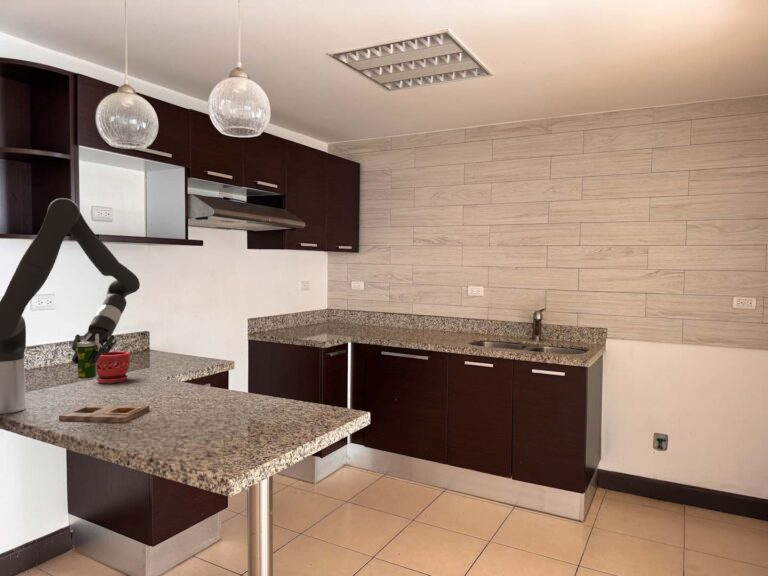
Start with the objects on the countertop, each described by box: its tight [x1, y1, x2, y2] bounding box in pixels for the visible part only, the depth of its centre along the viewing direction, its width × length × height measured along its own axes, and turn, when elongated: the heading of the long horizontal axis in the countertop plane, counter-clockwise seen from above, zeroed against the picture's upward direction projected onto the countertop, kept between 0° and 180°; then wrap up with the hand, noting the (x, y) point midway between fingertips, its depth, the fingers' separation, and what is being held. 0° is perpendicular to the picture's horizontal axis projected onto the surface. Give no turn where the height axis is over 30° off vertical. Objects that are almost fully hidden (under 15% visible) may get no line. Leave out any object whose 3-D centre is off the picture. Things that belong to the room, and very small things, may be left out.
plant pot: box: [96, 351, 131, 384], centre depth 229 cm, size 13×13×12 cm
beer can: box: [76, 341, 98, 382], centre depth 178 cm, size 5×5×12 cm
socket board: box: [58, 403, 150, 423], centre depth 178 cm, size 22×14×2 cm, turn 83°
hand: (83, 362), depth 177 cm, fingers closed on beer can, 5 cm apart
